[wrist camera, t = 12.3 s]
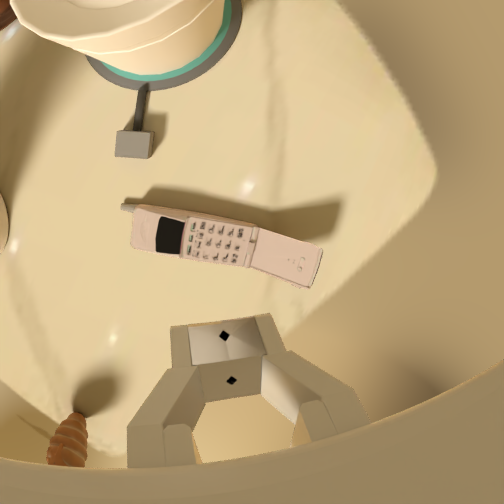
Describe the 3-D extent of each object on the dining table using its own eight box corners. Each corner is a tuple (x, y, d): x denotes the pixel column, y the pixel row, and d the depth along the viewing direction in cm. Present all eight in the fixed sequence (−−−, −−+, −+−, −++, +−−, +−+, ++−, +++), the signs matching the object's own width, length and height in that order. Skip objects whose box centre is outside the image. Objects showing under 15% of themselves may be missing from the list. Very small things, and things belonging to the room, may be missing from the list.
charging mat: (63, 151, 35) (55, 154, 32) (102, -44, 24) (96, -51, 22) (216, 162, 38) (216, 165, 36) (253, -41, 27) (256, -49, 25)
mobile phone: (311, 291, 40) (107, 258, 35) (299, 270, 45) (119, 240, 40) (326, 247, 38) (110, 209, 33) (312, 230, 43) (124, 196, 38)
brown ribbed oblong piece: (74, 397, 51) (50, 470, 35) (104, 418, 54) (88, 491, 38) (54, 409, 53) (32, 476, 36) (82, 429, 56) (66, 496, 39)
